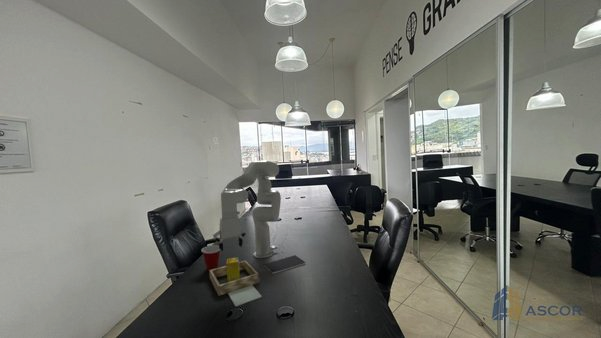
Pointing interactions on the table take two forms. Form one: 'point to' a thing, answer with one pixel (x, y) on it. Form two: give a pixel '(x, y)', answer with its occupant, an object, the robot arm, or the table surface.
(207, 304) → the table surface
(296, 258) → the notebook
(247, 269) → the wooden frame
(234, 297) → the mat
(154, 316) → the table surface
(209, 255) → the plastic cup
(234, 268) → the supplement box
